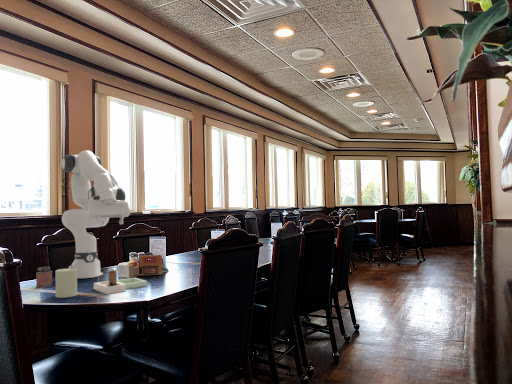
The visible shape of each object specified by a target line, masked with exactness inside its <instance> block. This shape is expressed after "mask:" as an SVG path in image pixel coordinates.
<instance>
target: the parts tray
mask: <svg viewBox="0 0 512 384" xmlns="http://www.w3.org/2000/svg"><path fill="white" fill-rule="evenodd" d="M117 282H118V283H122V284H125V290H130V289H136V288H143V287H144V288H145V287H147V286H148V280H145V279H141V278H137V277H131V278H122V279H117Z"/></svg>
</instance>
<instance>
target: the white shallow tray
mask: <svg viewBox="0 0 512 384" xmlns="http://www.w3.org/2000/svg"><path fill="white" fill-rule="evenodd" d="M93 290H95V291H97V292H99V293H100V292H101V293H103V294H106V295H109V294H114V293H115V294H116V293H120V292H125V291H126V289H125V284H122V283H118V282H117V285H116V286H109V283H108V280H106V281H99V282H93Z"/></svg>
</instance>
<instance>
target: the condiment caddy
mask: <svg viewBox="0 0 512 384" xmlns="http://www.w3.org/2000/svg"><path fill="white" fill-rule="evenodd" d="M148 259H149V260H150V259H151V261H147V260H148ZM138 261H139V263H140V267H142V274H139V273H137V274H138V276H157V275H158V276H159V275H160V276H161V275H163V274H164V273H163V272H164V269H163V268H164V267H163V256H162V255H161V254H153V255H152V254H151V255H150V254H148V255H143V254H141V255H139V256H138V259H137V262H138Z"/></svg>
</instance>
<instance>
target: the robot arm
mask: <svg viewBox="0 0 512 384" xmlns="http://www.w3.org/2000/svg"><path fill="white" fill-rule="evenodd" d="M61 167H62V170H63V171H64V172H65V173H69V174H71V173H73V174H72V175H71V180H70V187H71V189H70V190H71V195H72V201H73V203H74V204H75V205H76V206H79V207H80V208H73V209H68V210H65V211H64V212H63V213H62V215H61V222H62V224H63V226H64V227H65V228H67V229H68V230H69V231H70V232H71V233H72V235H73V236H74V242H75V253H74V260H73V262H72V263H71V265H68V269H69V268H74V269H77V279H89V278H96V277H100V276H103V275H104V272H101V261H100V259H98V255H99V254H98V251H97V249H98V247H97V238H96V237H95V236H94V235H93V234H91V233H88V232H87V229H91V228H100V227H105V226H106V225H107V224H108V223H109V220H110V219H111V218H112V219H113V218H119V221H118V223H119V225H123V224H124V218H127V217H129V216H130V214H131V209H130V207H129V203H128V201H126V193H125V190H124V189H123V188H122V187H121V185H119V184H118V182H117V180H115V178H114V177H113V175H112V174H111V172H110V171H109V170H107V169H106V168H104V167H103V166H102V159H101V158H100V157H99V156H98V155H95V154H94V153H93V152H92V151H90V150H87V149H86V150H85V149H84V150H82V151H80V152H79V153H78V154H66V155H64V156H63V157H62V160H61ZM91 181H92V182H93V185H92V183H91Z"/></svg>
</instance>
